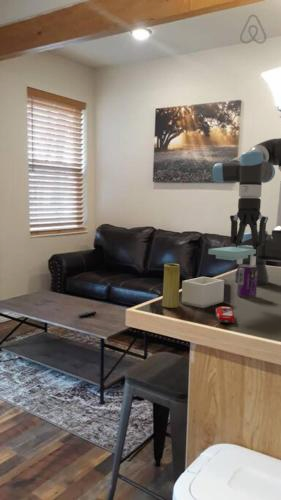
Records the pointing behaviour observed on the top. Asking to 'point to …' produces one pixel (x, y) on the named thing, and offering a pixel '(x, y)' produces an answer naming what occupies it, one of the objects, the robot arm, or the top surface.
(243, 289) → the beverage can
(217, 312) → the race car
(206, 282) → the tub
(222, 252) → the block
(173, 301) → the vase
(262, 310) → the top surface
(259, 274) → the robot arm
